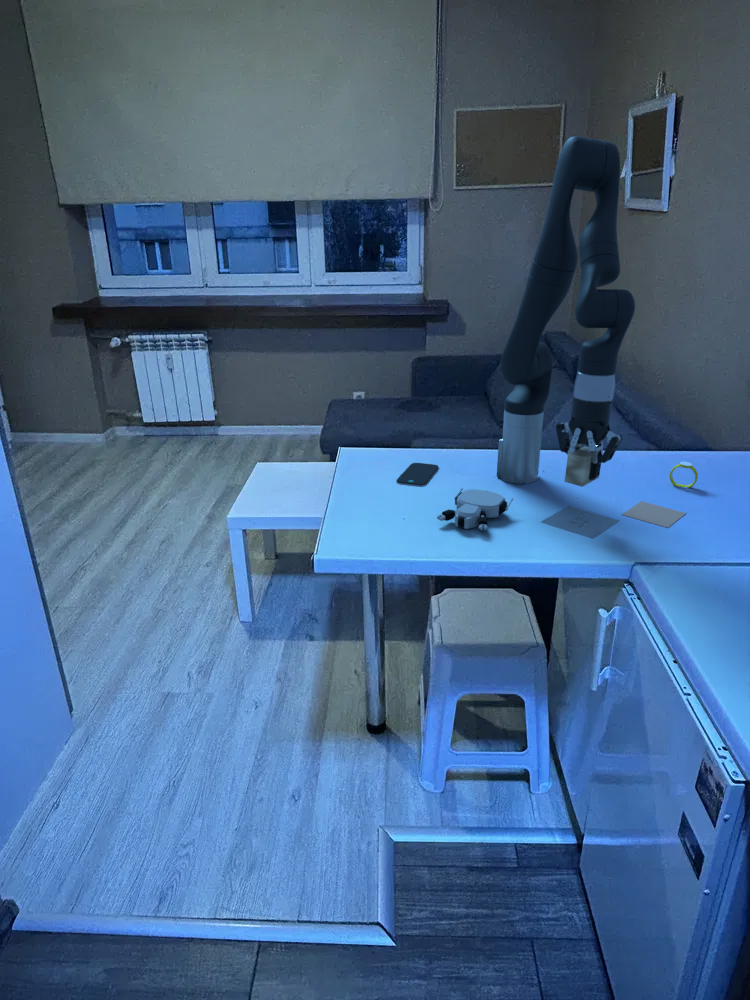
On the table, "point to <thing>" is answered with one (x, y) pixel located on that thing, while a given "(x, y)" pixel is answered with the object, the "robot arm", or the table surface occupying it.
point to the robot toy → (475, 508)
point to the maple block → (579, 467)
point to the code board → (580, 521)
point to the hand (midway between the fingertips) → (582, 475)
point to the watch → (684, 465)
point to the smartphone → (417, 474)
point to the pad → (654, 514)
